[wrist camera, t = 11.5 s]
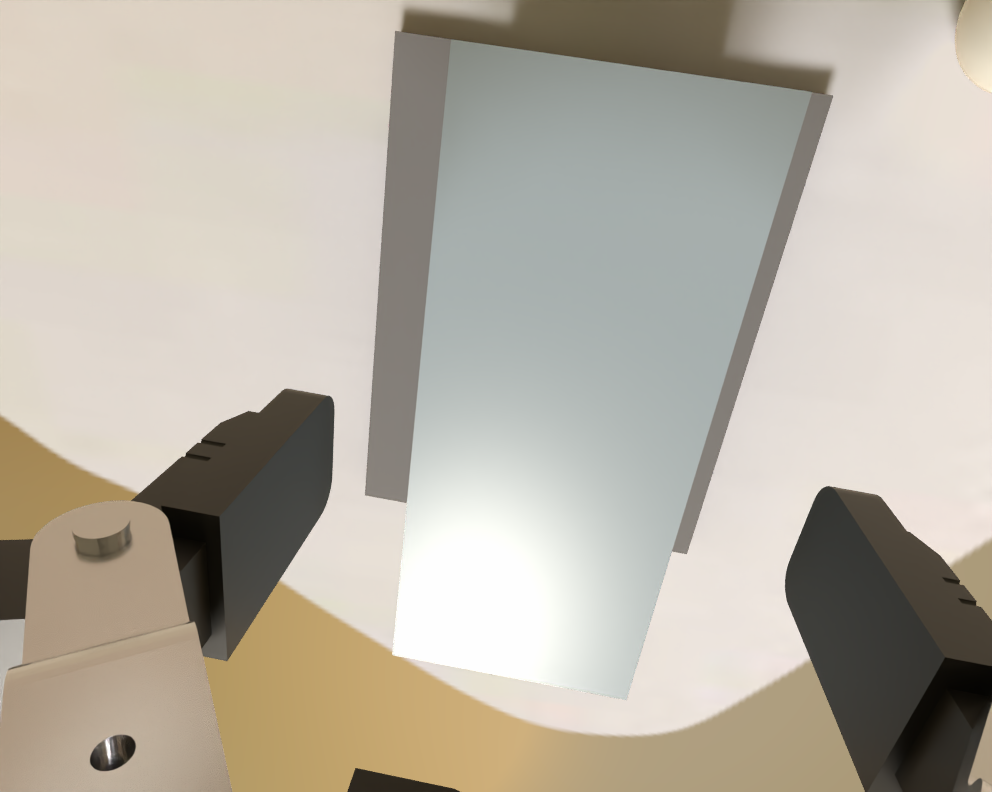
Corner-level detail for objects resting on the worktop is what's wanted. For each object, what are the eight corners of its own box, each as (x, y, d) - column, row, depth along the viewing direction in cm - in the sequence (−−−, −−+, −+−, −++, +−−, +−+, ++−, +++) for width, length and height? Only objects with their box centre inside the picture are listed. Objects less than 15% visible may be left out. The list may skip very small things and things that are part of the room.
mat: (400, 33, 17) (395, 31, 16) (824, 96, 16) (833, 95, 16) (370, 486, 23) (365, 495, 22) (683, 543, 22) (686, 554, 22)
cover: (499, 68, 17) (451, 38, 10) (719, 100, 16) (812, 91, 10) (446, 496, 22) (392, 655, 15) (611, 527, 22) (626, 700, 15)
